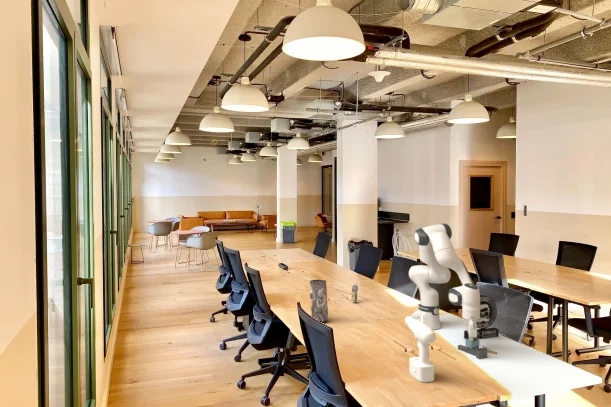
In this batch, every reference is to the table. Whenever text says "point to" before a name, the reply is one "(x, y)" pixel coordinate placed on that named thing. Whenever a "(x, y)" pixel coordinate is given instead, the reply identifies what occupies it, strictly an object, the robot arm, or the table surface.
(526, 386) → the table surface
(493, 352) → the gold ball-headed pin
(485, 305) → the decorative sign
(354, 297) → the toy
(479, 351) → the grey t-shaped bar
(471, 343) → the green knobbed cube
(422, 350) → the power drill
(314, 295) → the sculpture
